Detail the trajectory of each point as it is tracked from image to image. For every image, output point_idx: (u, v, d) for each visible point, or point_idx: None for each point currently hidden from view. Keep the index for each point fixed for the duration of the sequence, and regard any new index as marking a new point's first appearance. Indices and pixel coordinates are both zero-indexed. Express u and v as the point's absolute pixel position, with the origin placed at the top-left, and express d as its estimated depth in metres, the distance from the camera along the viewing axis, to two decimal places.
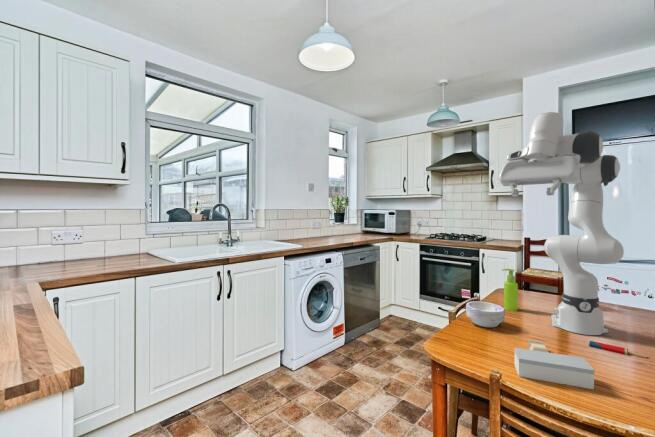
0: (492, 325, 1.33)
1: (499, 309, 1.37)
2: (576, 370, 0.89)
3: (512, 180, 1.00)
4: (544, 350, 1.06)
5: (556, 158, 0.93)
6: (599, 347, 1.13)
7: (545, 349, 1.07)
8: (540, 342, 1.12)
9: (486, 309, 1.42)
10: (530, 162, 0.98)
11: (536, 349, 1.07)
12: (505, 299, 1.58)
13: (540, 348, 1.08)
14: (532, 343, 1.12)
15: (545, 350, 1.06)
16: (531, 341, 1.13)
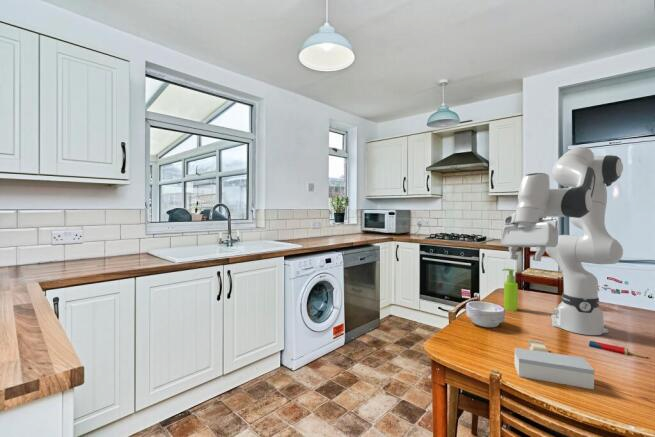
0: (492, 325, 1.33)
1: (499, 309, 1.37)
2: (576, 370, 0.89)
3: (509, 245, 1.10)
4: (544, 349, 1.06)
5: (537, 224, 1.00)
6: (599, 347, 1.13)
7: (545, 349, 1.07)
8: (540, 342, 1.12)
9: (486, 309, 1.42)
10: (519, 228, 1.07)
11: (536, 349, 1.07)
12: (505, 299, 1.58)
13: (540, 348, 1.08)
14: (532, 343, 1.12)
15: (545, 350, 1.06)
16: (531, 341, 1.13)
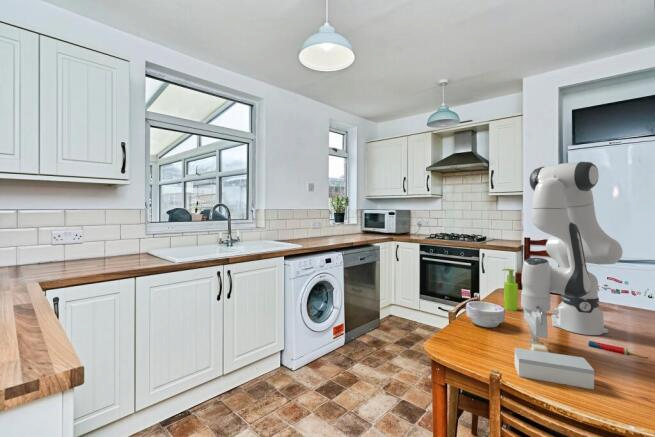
0: (492, 325, 1.33)
1: (499, 309, 1.37)
2: (576, 370, 0.89)
3: None
4: (545, 350, 1.05)
5: (532, 314, 1.10)
6: (599, 347, 1.13)
7: (546, 350, 1.06)
8: (541, 343, 1.11)
9: (486, 309, 1.42)
10: None
11: (537, 350, 1.06)
12: (505, 299, 1.58)
13: (540, 348, 1.07)
14: (533, 344, 1.11)
15: (546, 351, 1.05)
16: (532, 342, 1.12)
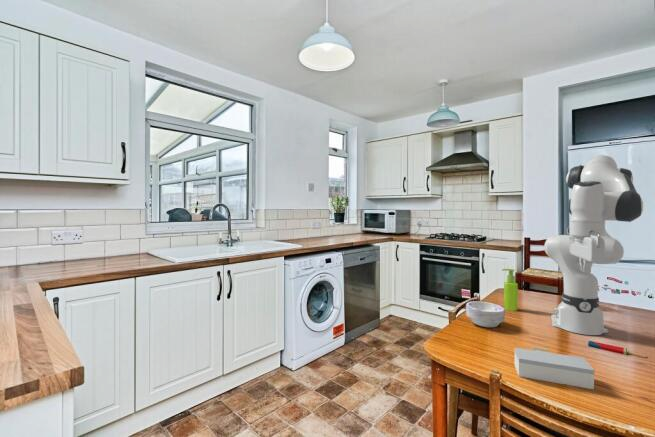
0: (492, 325, 1.33)
1: (499, 309, 1.37)
2: (576, 370, 0.89)
3: (574, 255, 1.10)
4: None
5: (585, 239, 1.00)
6: (598, 347, 1.13)
7: None
8: (545, 349, 1.06)
9: (486, 309, 1.42)
10: None
11: None
12: (505, 299, 1.58)
13: None
14: (536, 350, 1.06)
15: None
16: (535, 348, 1.07)
